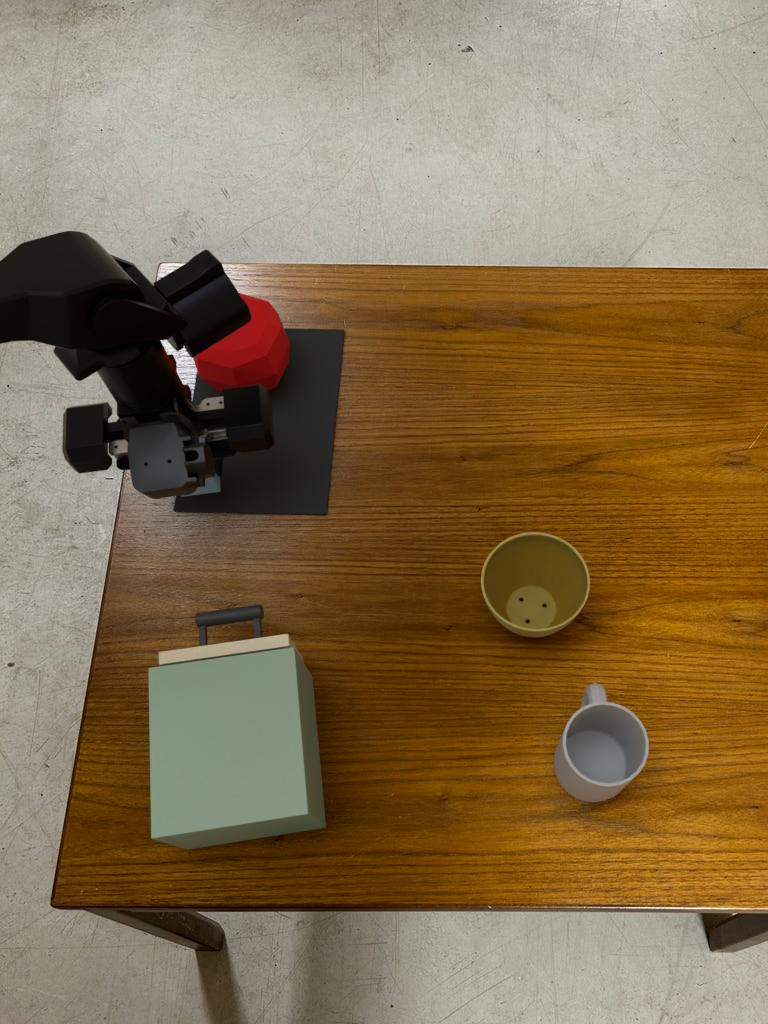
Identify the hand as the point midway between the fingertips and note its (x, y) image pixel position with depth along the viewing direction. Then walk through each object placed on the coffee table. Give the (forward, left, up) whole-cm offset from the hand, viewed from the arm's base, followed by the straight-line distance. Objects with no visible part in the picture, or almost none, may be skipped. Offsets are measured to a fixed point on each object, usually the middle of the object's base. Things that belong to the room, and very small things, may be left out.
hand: (198, 475), depth 83 cm
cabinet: (+3, -30, -3) cm, 30 cm away
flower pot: (+32, -19, -3) cm, 37 cm away
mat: (+7, +8, -3) cm, 11 cm away
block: (0, 0, 0) cm, 0 cm away
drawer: (+3, -26, -2) cm, 26 cm away
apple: (+6, +14, -2) cm, 15 cm away
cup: (+35, -34, -3) cm, 49 cm away
